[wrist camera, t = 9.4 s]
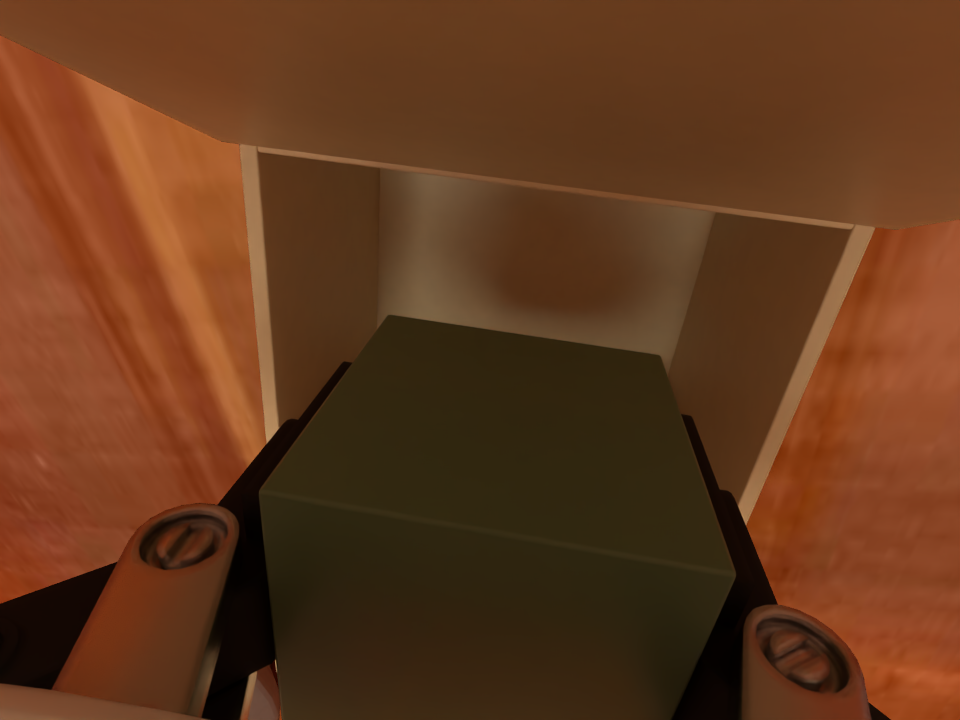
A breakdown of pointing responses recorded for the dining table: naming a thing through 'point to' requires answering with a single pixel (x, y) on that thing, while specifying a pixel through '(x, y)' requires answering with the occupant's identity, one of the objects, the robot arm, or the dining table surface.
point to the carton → (546, 285)
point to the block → (491, 535)
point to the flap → (560, 90)
